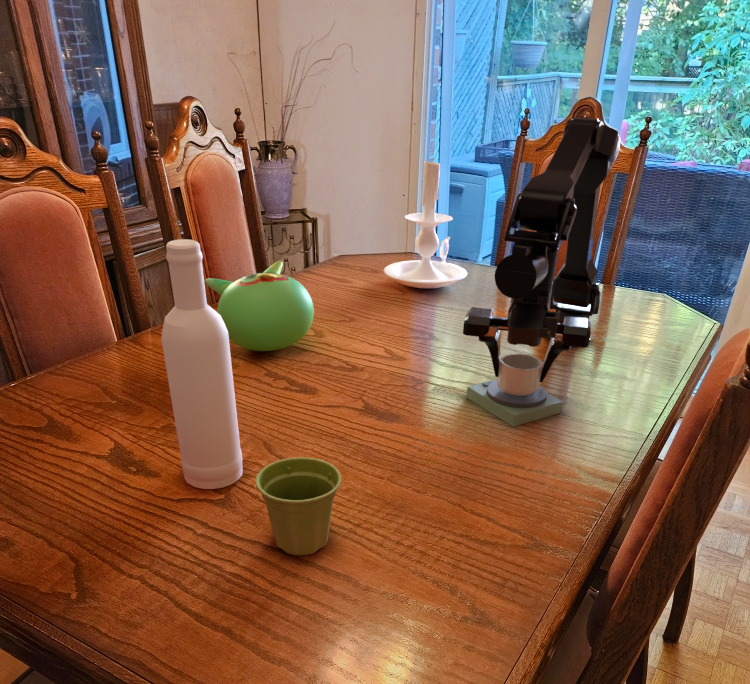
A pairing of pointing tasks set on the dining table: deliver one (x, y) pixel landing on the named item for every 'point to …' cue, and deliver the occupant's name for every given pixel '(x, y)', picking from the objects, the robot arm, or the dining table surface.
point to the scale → (513, 403)
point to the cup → (519, 374)
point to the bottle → (200, 375)
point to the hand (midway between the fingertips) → (518, 378)
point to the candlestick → (427, 242)
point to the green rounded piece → (264, 309)
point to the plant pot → (299, 501)
